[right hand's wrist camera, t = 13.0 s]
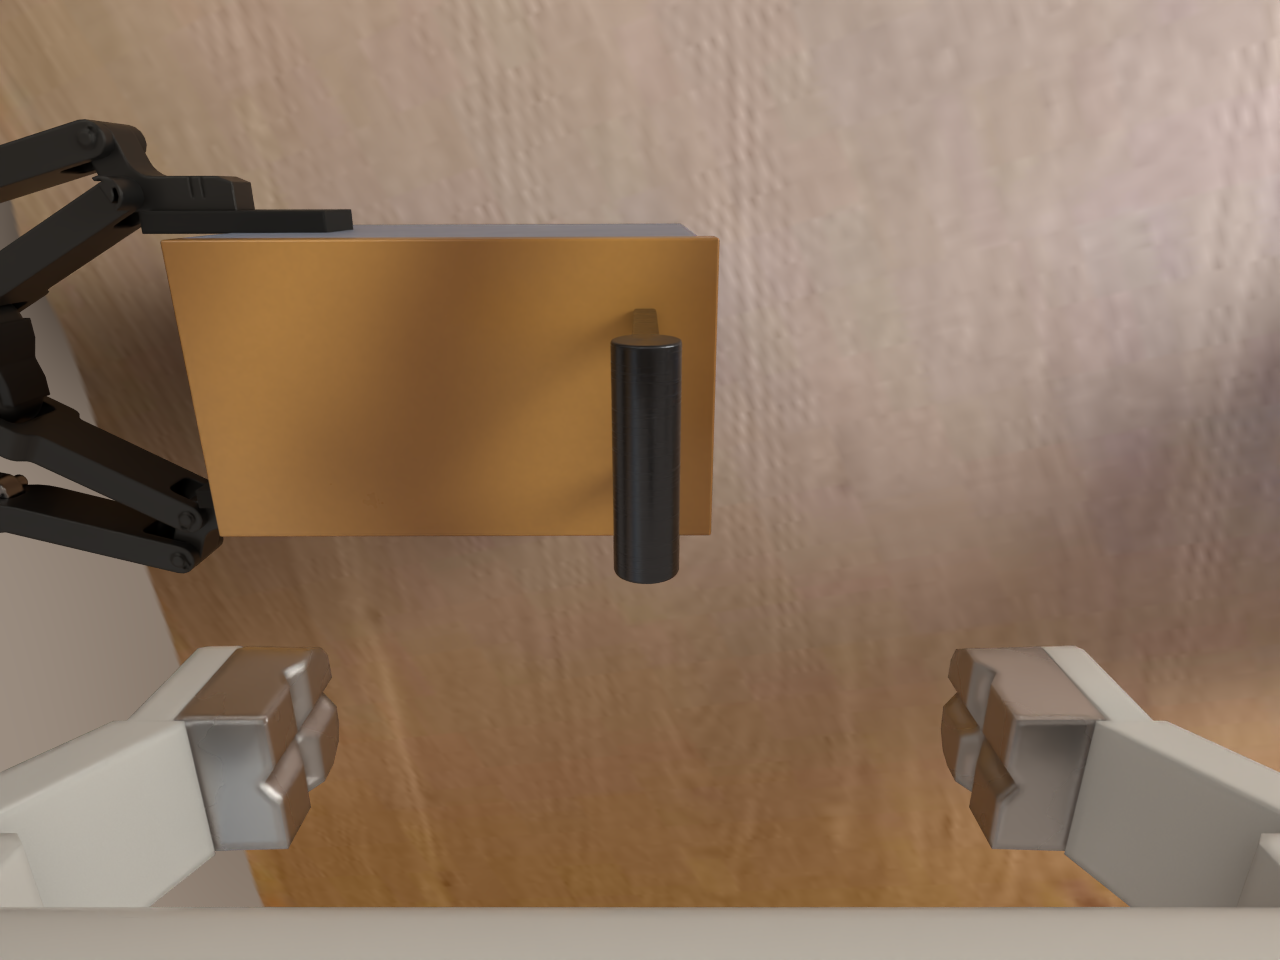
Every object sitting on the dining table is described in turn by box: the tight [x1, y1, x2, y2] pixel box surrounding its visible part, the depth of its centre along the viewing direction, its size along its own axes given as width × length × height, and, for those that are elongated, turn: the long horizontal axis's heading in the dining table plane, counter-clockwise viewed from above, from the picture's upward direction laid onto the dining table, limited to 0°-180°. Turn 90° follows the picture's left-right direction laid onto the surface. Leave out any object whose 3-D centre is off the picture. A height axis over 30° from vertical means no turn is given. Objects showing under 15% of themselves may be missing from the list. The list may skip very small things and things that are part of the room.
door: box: [161, 236, 719, 584], centre depth 22 cm, size 17×10×8 cm, turn 90°
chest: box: [187, 224, 696, 238], centre depth 31 cm, size 16×10×11 cm, turn 90°
